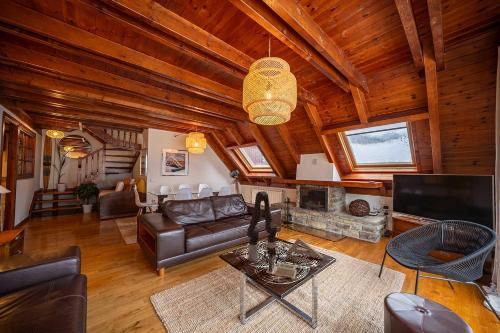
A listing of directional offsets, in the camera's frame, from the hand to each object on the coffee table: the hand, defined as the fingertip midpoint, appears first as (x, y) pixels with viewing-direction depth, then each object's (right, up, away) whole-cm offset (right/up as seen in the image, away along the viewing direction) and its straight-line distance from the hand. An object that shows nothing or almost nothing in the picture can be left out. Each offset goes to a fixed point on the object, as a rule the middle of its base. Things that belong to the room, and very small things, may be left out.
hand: (271, 263), depth 183 cm
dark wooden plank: (0, -6, 0) cm, 6 cm away
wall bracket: (+38, -6, +27) cm, 47 cm away
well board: (+8, -7, -3) cm, 11 cm away
